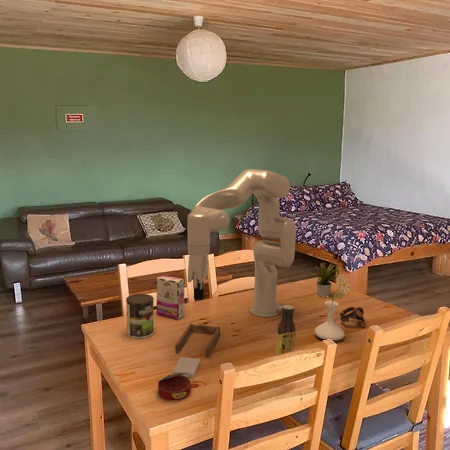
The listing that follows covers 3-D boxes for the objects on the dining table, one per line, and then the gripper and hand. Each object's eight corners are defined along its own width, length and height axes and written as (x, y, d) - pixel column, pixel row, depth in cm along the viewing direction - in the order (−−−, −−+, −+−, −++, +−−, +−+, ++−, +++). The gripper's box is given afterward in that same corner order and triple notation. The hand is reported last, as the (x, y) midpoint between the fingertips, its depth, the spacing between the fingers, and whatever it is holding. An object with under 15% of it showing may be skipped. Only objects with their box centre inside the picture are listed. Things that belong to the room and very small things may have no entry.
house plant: (331, 304, 218) (334, 269, 215) (303, 297, 226) (305, 264, 222) (342, 295, 230) (345, 262, 227) (315, 289, 237) (317, 257, 234)
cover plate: (200, 364, 163) (200, 358, 162) (193, 379, 153) (193, 373, 153) (180, 362, 164) (180, 356, 163) (172, 377, 154) (172, 371, 154)
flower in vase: (325, 345, 177) (330, 281, 172) (308, 333, 188) (312, 272, 182) (354, 340, 183) (359, 277, 177) (335, 328, 193) (340, 268, 187)
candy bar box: (185, 316, 201) (185, 278, 198) (178, 320, 197) (178, 282, 193) (163, 310, 206) (162, 274, 203) (156, 314, 202) (155, 277, 198)
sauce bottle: (281, 367, 161) (284, 311, 157) (271, 359, 166) (273, 305, 162) (297, 363, 164) (300, 308, 160) (286, 355, 169) (289, 302, 165)
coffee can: (159, 332, 185) (159, 298, 182) (137, 341, 177) (137, 305, 174) (142, 325, 192) (142, 291, 189) (121, 332, 184) (120, 298, 181)
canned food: (161, 412, 143) (144, 385, 141) (171, 391, 152) (156, 365, 150) (193, 402, 139) (176, 374, 137) (201, 381, 148) (186, 354, 146)
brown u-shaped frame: (220, 334, 185) (220, 326, 184) (208, 357, 167) (208, 349, 166) (190, 330, 187) (190, 323, 187) (175, 353, 169) (175, 345, 168)
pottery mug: (362, 333, 190) (352, 315, 190) (342, 335, 197) (333, 318, 196) (373, 316, 199) (364, 299, 198) (354, 320, 205) (345, 303, 205)
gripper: (193, 242, 171) (194, 290, 175) (181, 253, 156) (182, 306, 160) (214, 243, 169) (214, 292, 173) (204, 255, 155) (204, 308, 159)
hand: (198, 298), depth 167 cm, fingers closed
